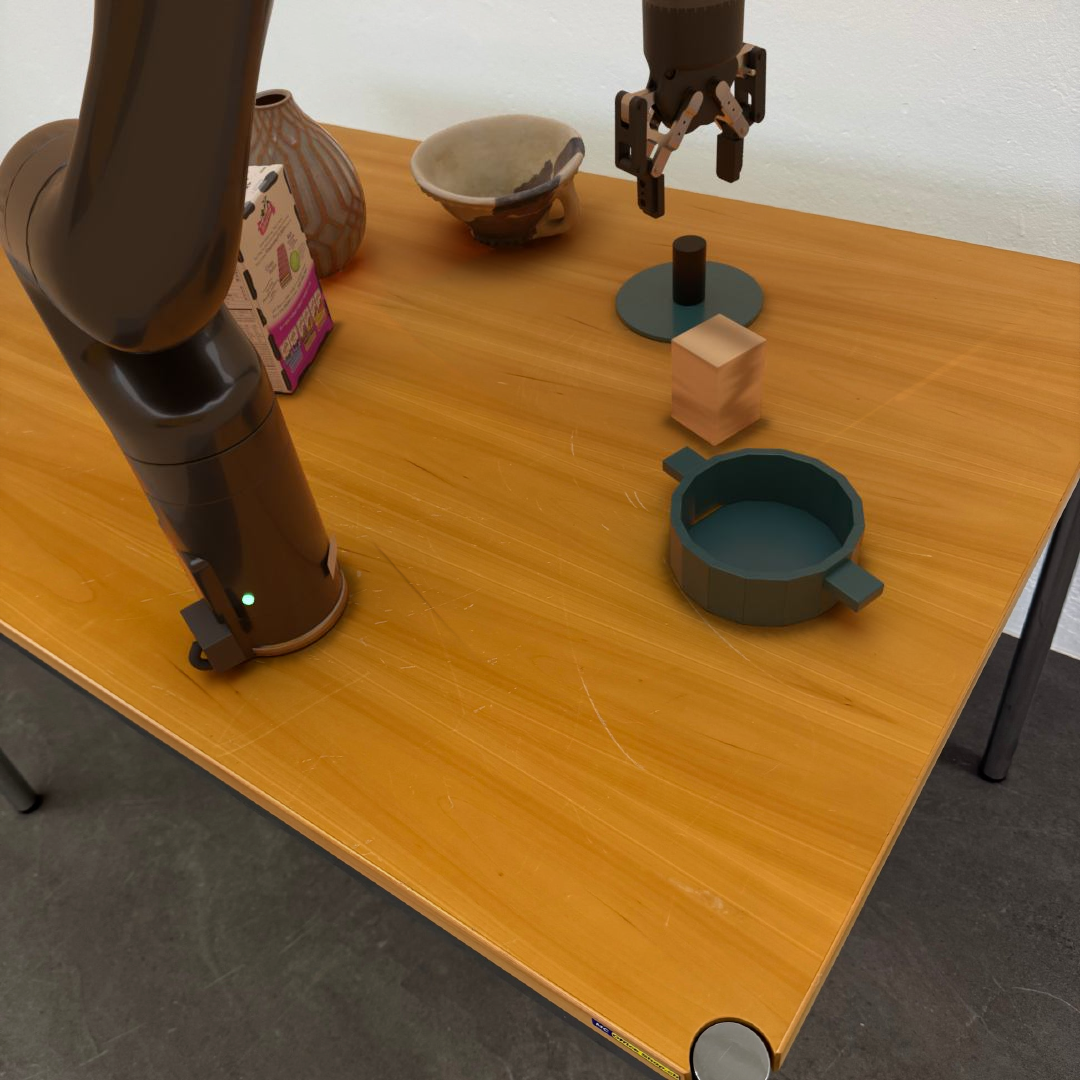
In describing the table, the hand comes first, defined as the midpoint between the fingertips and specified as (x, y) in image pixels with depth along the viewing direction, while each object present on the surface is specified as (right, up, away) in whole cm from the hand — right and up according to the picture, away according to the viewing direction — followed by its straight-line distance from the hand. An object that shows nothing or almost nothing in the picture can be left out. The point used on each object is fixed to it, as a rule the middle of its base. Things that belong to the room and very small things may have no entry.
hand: (691, 196), depth 81 cm
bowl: (-16, +3, +21) cm, 27 cm away
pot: (+2, -31, -15) cm, 34 cm away
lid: (+1, -7, +7) cm, 10 cm away
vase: (-37, 0, +21) cm, 42 cm away
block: (+1, -20, -4) cm, 20 cm away
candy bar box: (-36, -12, +9) cm, 39 cm away
